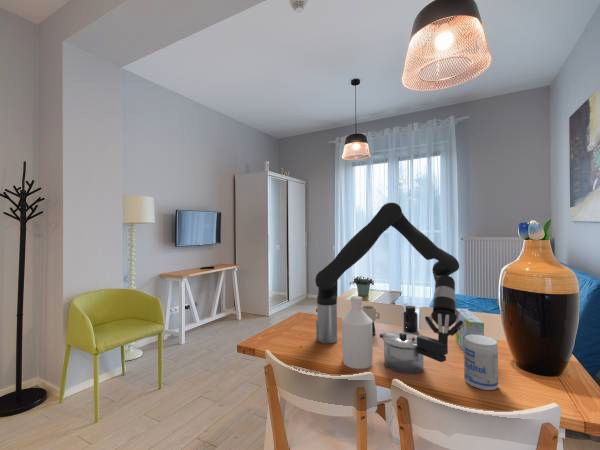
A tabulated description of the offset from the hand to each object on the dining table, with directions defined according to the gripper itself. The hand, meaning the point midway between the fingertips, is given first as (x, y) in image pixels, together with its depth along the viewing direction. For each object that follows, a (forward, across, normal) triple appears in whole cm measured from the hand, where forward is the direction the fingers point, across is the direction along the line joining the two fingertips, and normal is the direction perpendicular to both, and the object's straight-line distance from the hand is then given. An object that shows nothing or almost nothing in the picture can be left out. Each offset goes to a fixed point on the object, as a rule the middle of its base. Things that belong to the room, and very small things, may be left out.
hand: (442, 344), depth 100 cm
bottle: (+10, -30, +7) cm, 32 cm away
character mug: (-13, -35, +30) cm, 48 cm away
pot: (+7, -11, +10) cm, 16 cm away
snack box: (-13, +8, +30) cm, 34 cm away
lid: (0, -10, +3) cm, 10 cm away
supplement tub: (+7, +11, +10) cm, 16 cm away
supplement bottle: (-23, -18, +40) cm, 50 cm away
